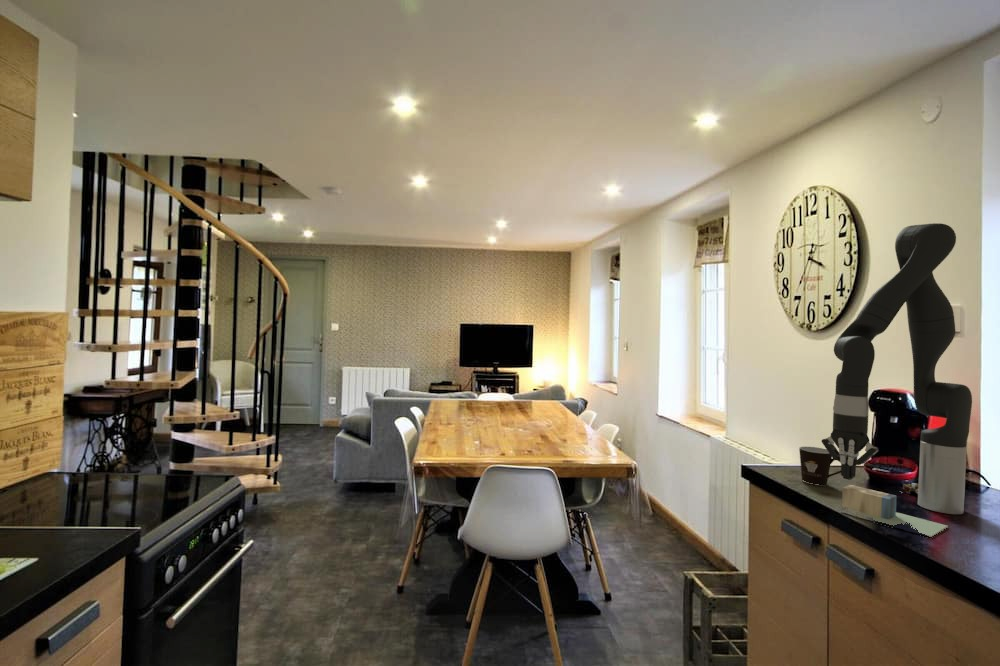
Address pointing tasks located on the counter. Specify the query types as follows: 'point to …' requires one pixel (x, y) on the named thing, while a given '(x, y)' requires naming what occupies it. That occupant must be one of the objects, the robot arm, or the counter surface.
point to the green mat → (912, 523)
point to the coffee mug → (815, 465)
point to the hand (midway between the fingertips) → (847, 478)
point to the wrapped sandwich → (911, 488)
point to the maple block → (869, 501)
